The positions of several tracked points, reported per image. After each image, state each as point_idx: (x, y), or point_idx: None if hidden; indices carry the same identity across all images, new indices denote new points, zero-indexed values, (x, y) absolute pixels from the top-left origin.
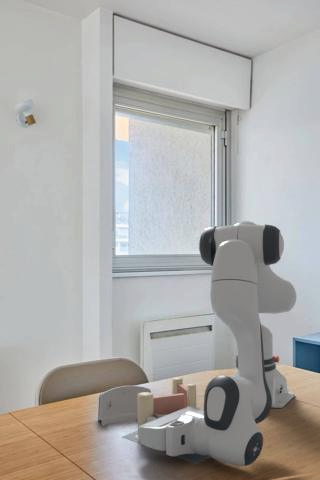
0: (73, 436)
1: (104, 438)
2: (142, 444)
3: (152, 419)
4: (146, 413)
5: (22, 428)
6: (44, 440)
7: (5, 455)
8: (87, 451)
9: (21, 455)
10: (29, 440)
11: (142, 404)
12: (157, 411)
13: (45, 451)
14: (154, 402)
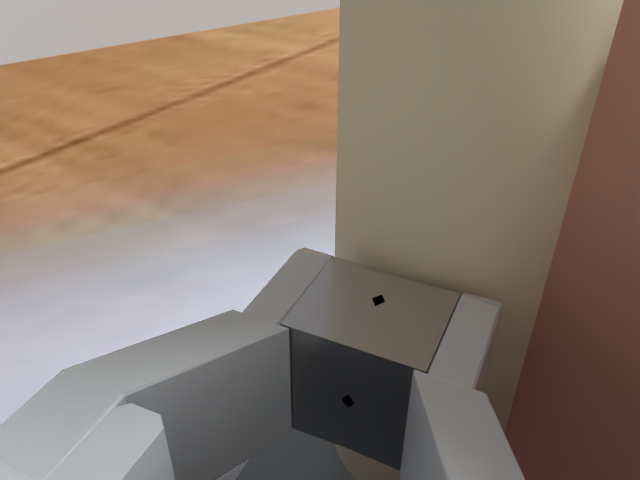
0: (312, 121)
1: (334, 213)
2: (243, 472)
3: (194, 342)
4: (349, 198)
5: (336, 28)
6: (235, 78)
7: (72, 54)
8: (105, 202)
9: (68, 74)
10: (225, 57)
11: (340, 17)
12: (635, 310)
13: (108, 103)
14: (624, 93)
